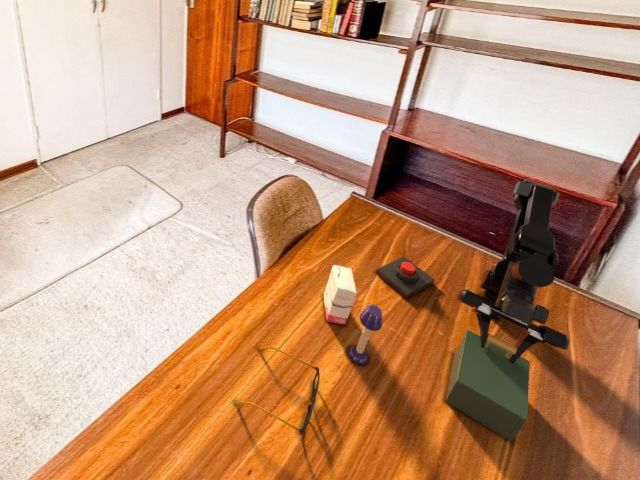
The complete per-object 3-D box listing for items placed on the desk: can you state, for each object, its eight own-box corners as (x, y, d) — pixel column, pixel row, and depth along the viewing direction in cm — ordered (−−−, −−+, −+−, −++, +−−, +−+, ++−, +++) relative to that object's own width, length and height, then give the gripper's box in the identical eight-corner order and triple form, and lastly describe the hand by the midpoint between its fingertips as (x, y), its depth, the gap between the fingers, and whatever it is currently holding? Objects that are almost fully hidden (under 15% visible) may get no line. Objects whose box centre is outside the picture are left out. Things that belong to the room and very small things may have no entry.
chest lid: (465, 331, 92) (472, 319, 90) (528, 363, 86) (536, 351, 84) (455, 382, 82) (463, 370, 80) (525, 422, 76) (535, 410, 74)
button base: (402, 260, 122) (405, 251, 121) (432, 283, 114) (436, 275, 113) (375, 273, 117) (378, 264, 116) (406, 298, 109) (409, 289, 108)
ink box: (347, 326, 101) (357, 293, 96) (326, 322, 102) (336, 289, 97) (342, 298, 109) (351, 266, 104) (323, 294, 110) (331, 263, 104)
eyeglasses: (304, 444, 77) (307, 433, 75) (235, 404, 83) (237, 393, 82) (319, 380, 88) (323, 369, 87) (258, 348, 95) (260, 337, 93)
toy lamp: (371, 366, 92) (390, 318, 84) (352, 367, 91) (369, 319, 84) (362, 347, 96) (379, 299, 89) (343, 348, 96) (359, 300, 88)
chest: (454, 355, 95) (464, 336, 92) (513, 387, 88) (526, 368, 86) (445, 401, 85) (455, 382, 82) (511, 442, 79) (525, 422, 76)
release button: (405, 264, 117) (407, 260, 116) (416, 273, 114) (418, 268, 113) (397, 268, 115) (399, 263, 114) (408, 277, 112) (410, 272, 112)
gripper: (475, 263, 87) (451, 331, 85) (589, 311, 77) (566, 390, 74) (468, 267, 96) (446, 329, 94) (568, 311, 86) (547, 381, 83)
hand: (496, 355), depth 86 cm, fingers closed on chest lid, 5 cm apart
